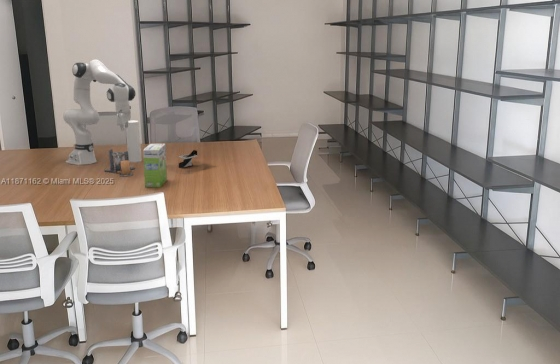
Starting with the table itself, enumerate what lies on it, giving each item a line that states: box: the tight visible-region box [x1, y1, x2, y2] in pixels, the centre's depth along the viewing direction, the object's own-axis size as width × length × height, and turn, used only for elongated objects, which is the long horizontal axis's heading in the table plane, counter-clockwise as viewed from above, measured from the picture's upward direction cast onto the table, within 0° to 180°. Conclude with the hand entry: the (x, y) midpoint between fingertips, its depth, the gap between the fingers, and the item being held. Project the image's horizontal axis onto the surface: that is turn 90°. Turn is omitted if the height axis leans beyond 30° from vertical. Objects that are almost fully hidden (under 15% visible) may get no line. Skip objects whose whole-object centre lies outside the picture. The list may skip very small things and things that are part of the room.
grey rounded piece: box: [118, 172, 134, 178], centre depth 356 cm, size 9×9×1 cm
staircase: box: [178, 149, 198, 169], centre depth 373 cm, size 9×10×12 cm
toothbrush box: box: [142, 143, 168, 188], centre depth 333 cm, size 18×10×24 cm, turn 178°
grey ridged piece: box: [104, 149, 136, 175], centre depth 365 cm, size 15×14×14 cm
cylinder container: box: [125, 119, 143, 163], centre depth 389 cm, size 9×9×30 cm
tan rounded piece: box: [116, 159, 135, 175], centre depth 354 cm, size 11×6×9 cm, turn 97°
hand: (124, 129), depth 353 cm, fingers open, 8 cm apart
